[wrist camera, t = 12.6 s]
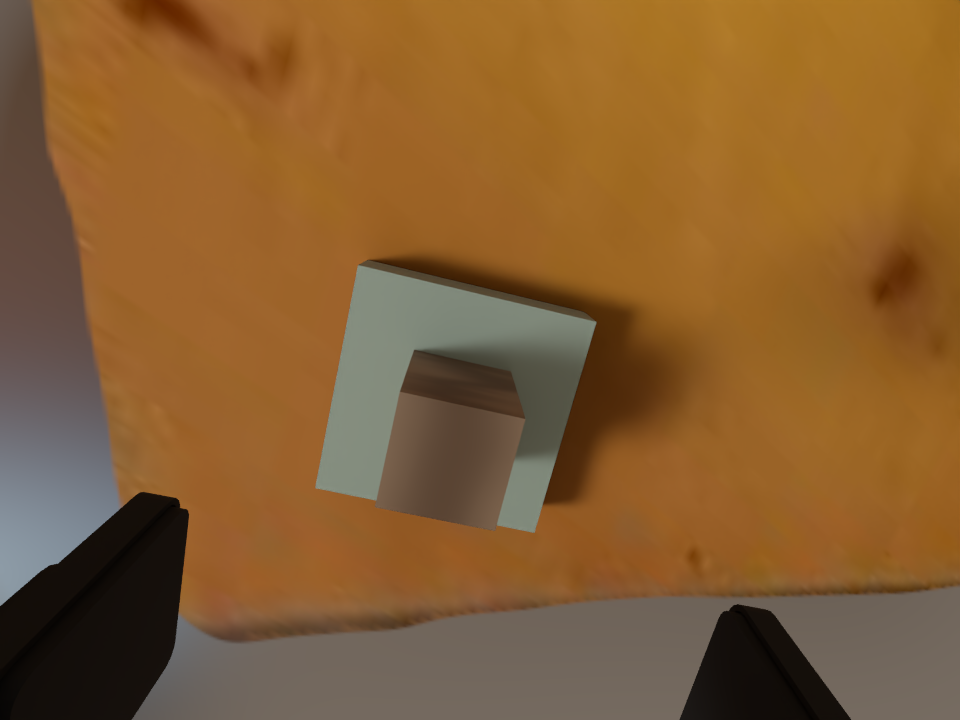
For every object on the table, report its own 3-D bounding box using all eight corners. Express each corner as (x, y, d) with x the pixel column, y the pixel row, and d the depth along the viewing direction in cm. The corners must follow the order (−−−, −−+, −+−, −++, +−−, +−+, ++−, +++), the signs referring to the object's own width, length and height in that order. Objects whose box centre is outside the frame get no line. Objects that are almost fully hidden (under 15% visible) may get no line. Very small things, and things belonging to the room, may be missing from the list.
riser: (584, 311, 32) (596, 321, 29) (528, 505, 35) (534, 532, 32) (367, 259, 31) (358, 265, 28) (327, 464, 34) (315, 488, 31)
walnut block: (511, 371, 30) (525, 419, 23) (487, 460, 31) (495, 531, 24) (414, 349, 29) (399, 391, 23) (394, 441, 30) (374, 507, 24)
